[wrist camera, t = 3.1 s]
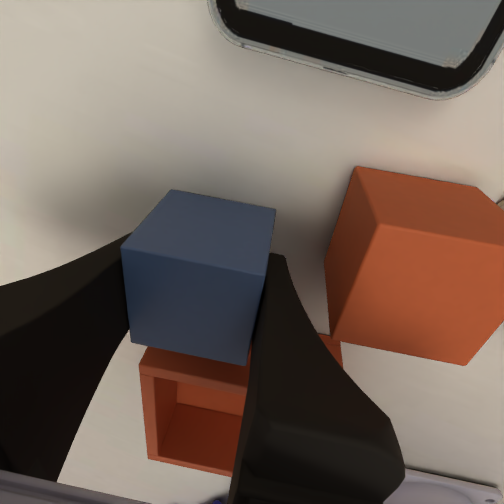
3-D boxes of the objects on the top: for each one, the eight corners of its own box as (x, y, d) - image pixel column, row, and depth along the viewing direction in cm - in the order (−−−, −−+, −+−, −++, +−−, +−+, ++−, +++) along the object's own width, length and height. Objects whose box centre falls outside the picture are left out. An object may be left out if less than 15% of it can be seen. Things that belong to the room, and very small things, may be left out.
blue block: (259, 289, 14) (246, 367, 11) (170, 271, 14) (130, 343, 11) (276, 208, 12) (265, 275, 8) (170, 188, 12) (118, 246, 9)
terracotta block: (423, 281, 13) (466, 367, 9) (323, 262, 13) (329, 340, 9) (478, 186, 10) (560, 257, 7) (354, 165, 10) (378, 223, 7)
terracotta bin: (300, 425, 20) (299, 492, 17) (170, 397, 20) (147, 459, 17) (340, 337, 15) (348, 409, 12) (169, 302, 15) (137, 364, 12)
